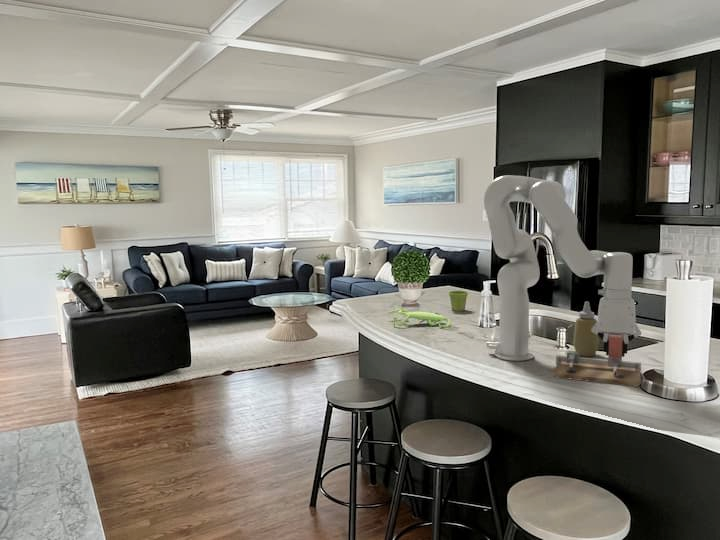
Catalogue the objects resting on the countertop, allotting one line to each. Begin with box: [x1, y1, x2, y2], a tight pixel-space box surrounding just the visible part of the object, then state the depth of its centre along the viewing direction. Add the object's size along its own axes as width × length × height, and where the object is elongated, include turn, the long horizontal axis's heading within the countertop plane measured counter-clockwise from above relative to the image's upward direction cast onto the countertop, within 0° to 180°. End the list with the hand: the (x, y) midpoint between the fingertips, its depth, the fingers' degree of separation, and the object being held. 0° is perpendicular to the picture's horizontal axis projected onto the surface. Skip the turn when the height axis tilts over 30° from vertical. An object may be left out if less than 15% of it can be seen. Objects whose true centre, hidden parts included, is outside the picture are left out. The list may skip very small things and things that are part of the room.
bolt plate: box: [553, 362, 642, 386], centre depth 167 cm, size 23×14×1 cm, turn 66°
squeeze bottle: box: [572, 301, 600, 357], centre depth 187 cm, size 8×8×18 cm
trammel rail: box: [555, 350, 642, 373], centre depth 167 cm, size 24×9×4 cm, turn 66°
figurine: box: [388, 308, 452, 329], centre depth 241 cm, size 18×27×6 cm
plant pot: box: [448, 290, 469, 312], centre depth 267 cm, size 9×9×9 cm
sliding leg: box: [607, 333, 624, 375], centre depth 165 cm, size 4×9×10 cm, turn 156°
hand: (615, 354), depth 167 cm, fingers closed on sliding leg, 3 cm apart
